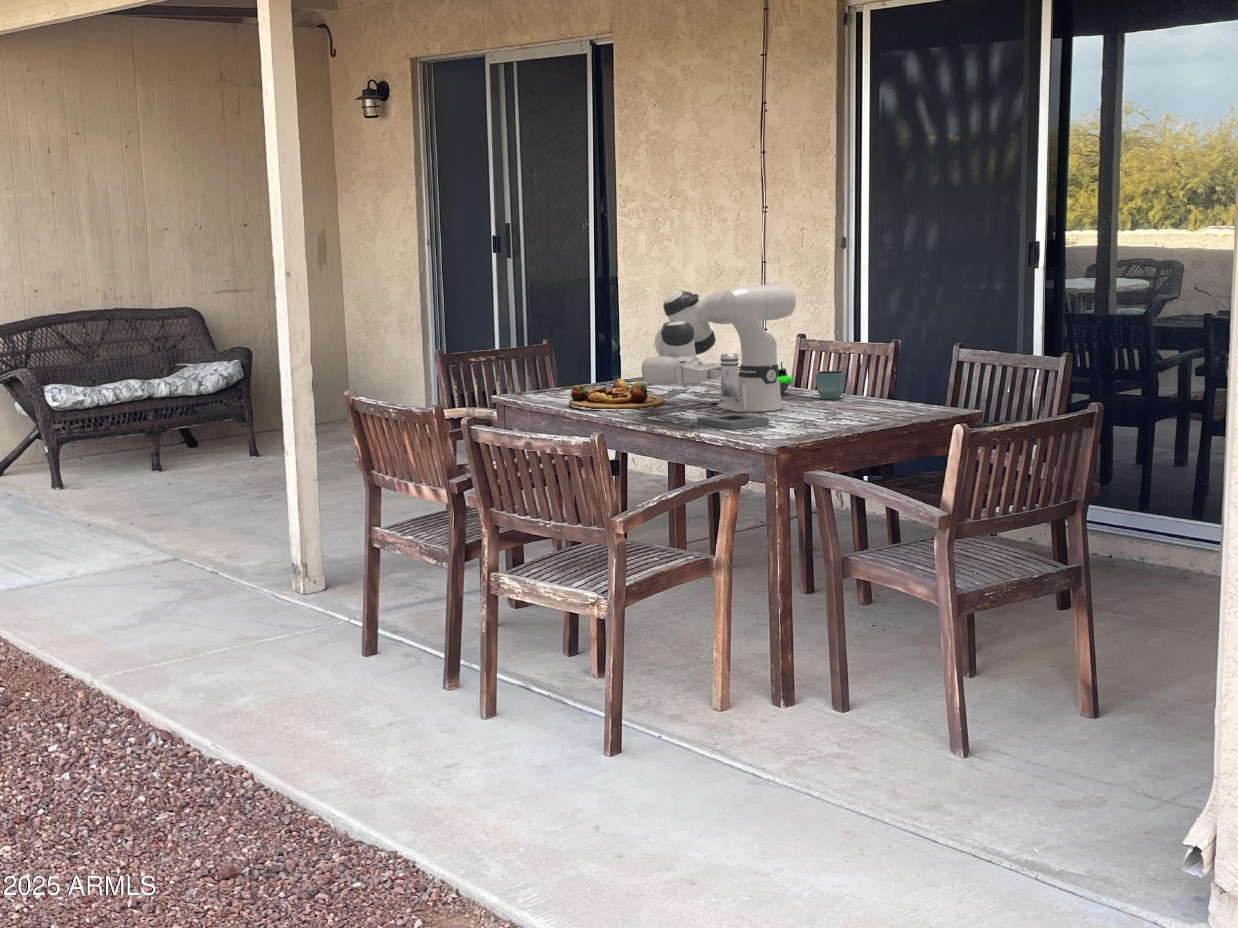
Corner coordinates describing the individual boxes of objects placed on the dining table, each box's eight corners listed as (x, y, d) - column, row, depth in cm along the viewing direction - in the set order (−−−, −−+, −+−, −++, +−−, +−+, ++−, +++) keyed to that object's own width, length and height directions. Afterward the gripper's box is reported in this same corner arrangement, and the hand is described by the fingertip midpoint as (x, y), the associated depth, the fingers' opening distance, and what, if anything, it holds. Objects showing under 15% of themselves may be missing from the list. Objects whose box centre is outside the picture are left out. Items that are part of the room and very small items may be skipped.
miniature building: (773, 392, 482) (772, 360, 481) (798, 393, 474) (798, 361, 472) (749, 395, 474) (749, 363, 473) (775, 397, 466) (774, 364, 464)
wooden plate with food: (557, 412, 449) (557, 387, 448) (582, 399, 480) (582, 375, 478) (653, 414, 442) (653, 389, 440) (673, 400, 472) (672, 376, 471)
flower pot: (820, 397, 462) (819, 370, 461) (846, 397, 459) (846, 370, 458) (814, 400, 454) (814, 373, 452) (841, 400, 451) (841, 373, 450)
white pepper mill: (717, 395, 405) (716, 354, 403) (731, 393, 408) (730, 353, 406) (728, 396, 401) (727, 355, 399) (742, 395, 404) (741, 354, 402)
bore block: (697, 424, 409) (697, 417, 409) (734, 419, 417) (734, 413, 416) (731, 430, 396) (731, 423, 396) (768, 424, 404) (768, 418, 403)
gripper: (707, 378, 420) (748, 379, 412) (674, 385, 402) (716, 387, 395) (706, 357, 418) (747, 358, 411) (673, 364, 401) (715, 365, 394)
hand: (732, 372), depth 403 cm, fingers closed on white pepper mill, 5 cm apart
